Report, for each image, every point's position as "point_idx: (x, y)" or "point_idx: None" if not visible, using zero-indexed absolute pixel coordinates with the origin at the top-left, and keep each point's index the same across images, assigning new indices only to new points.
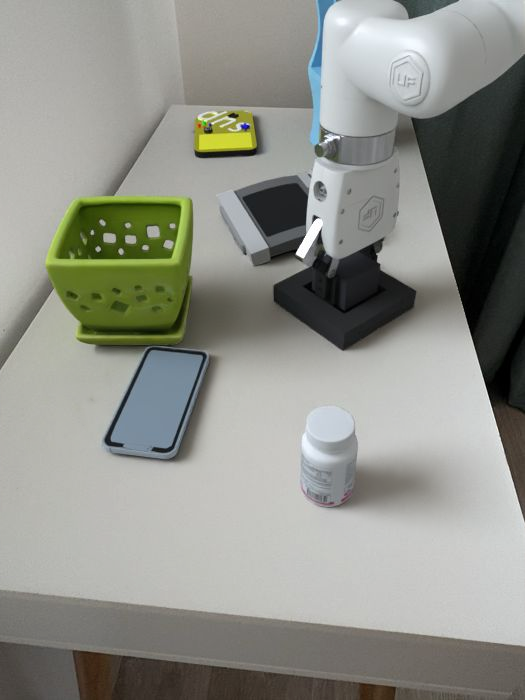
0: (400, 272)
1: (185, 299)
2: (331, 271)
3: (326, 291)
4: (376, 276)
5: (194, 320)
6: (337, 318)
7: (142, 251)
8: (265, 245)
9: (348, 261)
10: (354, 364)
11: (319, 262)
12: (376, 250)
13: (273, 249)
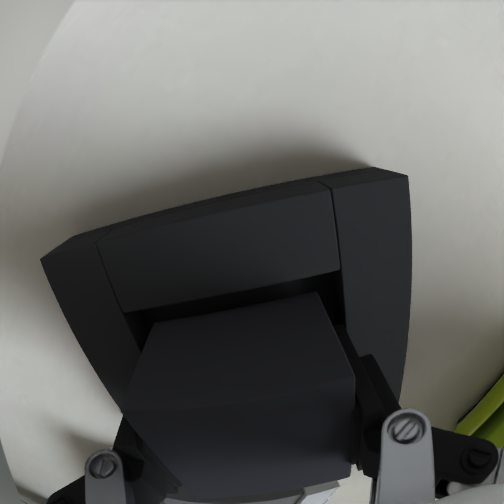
0: (58, 359)
1: (497, 408)
2: (411, 436)
3: (374, 370)
4: (149, 368)
5: (487, 376)
6: (377, 258)
7: None
8: (307, 498)
9: (243, 462)
10: (377, 103)
11: (484, 467)
12: (113, 462)
13: (293, 490)
